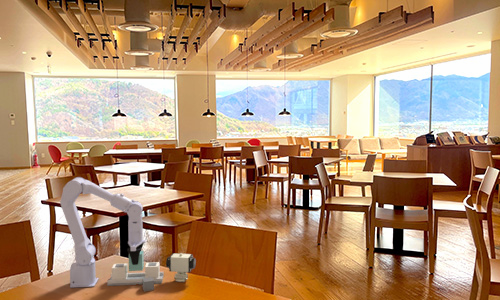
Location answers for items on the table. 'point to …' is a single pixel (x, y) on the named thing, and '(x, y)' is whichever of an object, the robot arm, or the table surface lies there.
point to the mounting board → (134, 274)
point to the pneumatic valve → (181, 265)
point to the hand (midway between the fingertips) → (136, 262)
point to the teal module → (140, 263)
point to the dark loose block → (148, 284)
